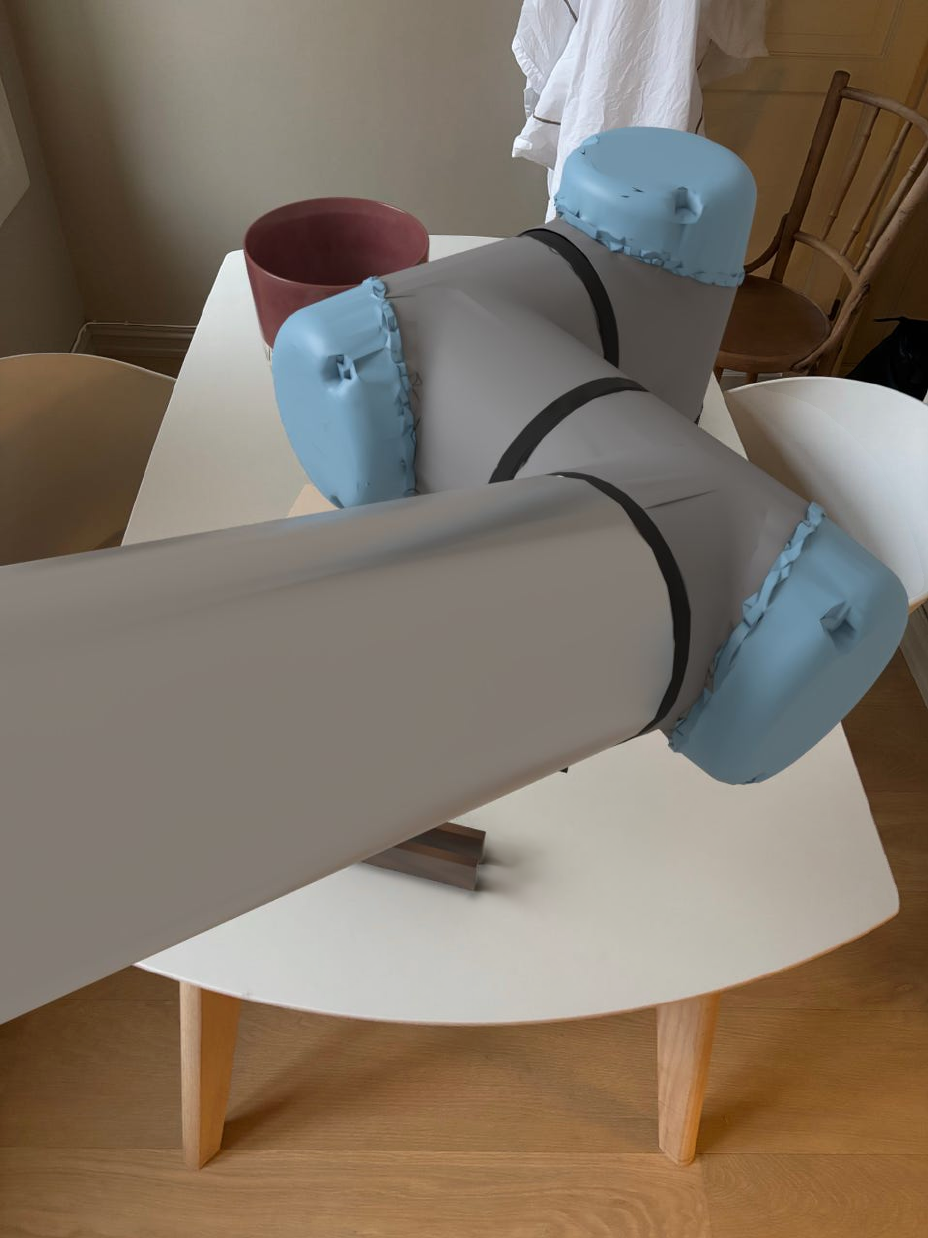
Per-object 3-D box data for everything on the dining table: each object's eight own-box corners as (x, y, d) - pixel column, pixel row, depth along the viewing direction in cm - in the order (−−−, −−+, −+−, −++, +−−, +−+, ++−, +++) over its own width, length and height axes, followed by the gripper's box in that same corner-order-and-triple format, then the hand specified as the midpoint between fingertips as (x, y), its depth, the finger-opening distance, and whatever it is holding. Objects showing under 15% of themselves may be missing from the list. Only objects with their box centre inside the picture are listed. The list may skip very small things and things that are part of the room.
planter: (302, 477, 106) (280, 304, 90) (246, 384, 117) (217, 216, 101) (456, 431, 112) (461, 262, 96) (388, 348, 123) (383, 183, 107)
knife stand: (483, 855, 76) (486, 831, 73) (474, 891, 74) (476, 868, 71) (342, 819, 77) (339, 794, 74) (329, 854, 75) (325, 829, 72)
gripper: (665, 604, 41) (589, 859, 58) (692, 402, 50) (621, 672, 68) (495, 570, 42) (472, 831, 59) (555, 378, 51) (520, 651, 69)
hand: (552, 746), depth 64 cm, fingers closed on cake knife, 2 cm apart
